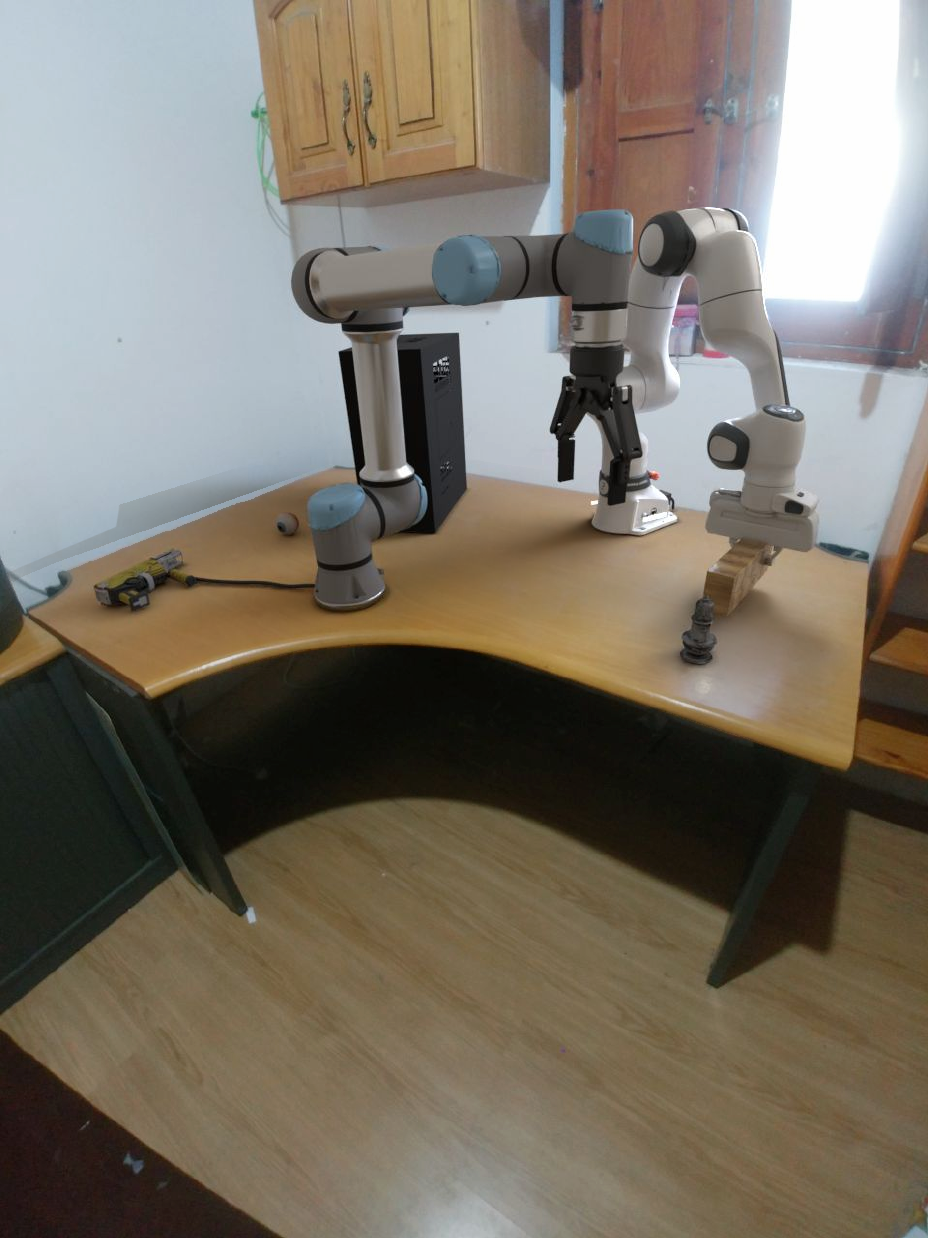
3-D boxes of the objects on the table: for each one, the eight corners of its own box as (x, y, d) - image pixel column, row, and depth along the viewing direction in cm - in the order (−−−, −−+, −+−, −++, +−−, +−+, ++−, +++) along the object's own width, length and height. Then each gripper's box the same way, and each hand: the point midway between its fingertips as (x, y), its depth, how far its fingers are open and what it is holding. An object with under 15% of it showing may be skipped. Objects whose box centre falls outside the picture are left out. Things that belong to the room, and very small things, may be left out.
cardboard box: (435, 533, 160) (420, 348, 138) (363, 530, 165) (338, 351, 142) (466, 488, 192) (459, 332, 169) (406, 486, 196) (390, 334, 174)
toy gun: (219, 557, 146) (169, 546, 150) (142, 598, 126) (87, 585, 129) (222, 574, 148) (172, 563, 152) (147, 618, 128) (92, 604, 132)
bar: (742, 565, 127) (749, 530, 123) (767, 570, 124) (774, 535, 120) (700, 609, 112) (706, 571, 108) (727, 616, 109) (734, 577, 105)
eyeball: (273, 537, 164) (268, 516, 161) (287, 528, 169) (282, 508, 166) (291, 539, 161) (286, 518, 158) (305, 530, 166) (301, 510, 163)
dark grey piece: (716, 666, 102) (728, 603, 96) (680, 663, 103) (689, 601, 97) (711, 647, 107) (722, 587, 101) (676, 645, 108) (685, 585, 102)
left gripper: (529, 340, 93) (528, 475, 103) (633, 353, 73) (619, 520, 83) (570, 335, 95) (565, 468, 106) (681, 347, 75) (662, 509, 86)
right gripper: (705, 490, 119) (696, 555, 126) (820, 509, 108) (802, 579, 114) (717, 482, 123) (707, 545, 130) (828, 499, 112) (811, 567, 119)
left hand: (589, 491), depth 95 cm, fingers open, 13 cm apart
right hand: (752, 561), depth 122 cm, fingers closed on bar, 5 cm apart
